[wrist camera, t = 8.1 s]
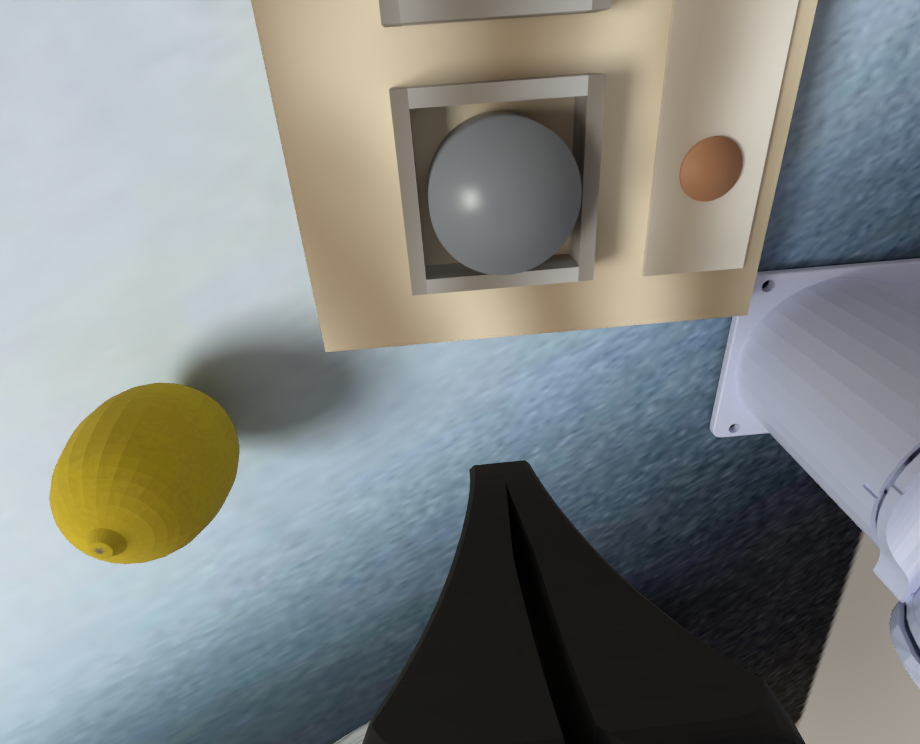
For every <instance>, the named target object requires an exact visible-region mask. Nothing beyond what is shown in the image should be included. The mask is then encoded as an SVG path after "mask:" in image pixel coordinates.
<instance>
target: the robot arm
mask: <svg viewBox="0 0 920 744" xmlns="http://www.w3.org/2000/svg"><path fill="white" fill-rule="evenodd" d="M768 280H769V284H768V285H767V286H766V287H765V288H763V289H762V285H763V283H764V282H766V281H768ZM733 424H735V425H734V426H733V427H731V428H730V426H731V425H733ZM710 430H711V432H712V433H713V434H714V435H715V436H717V437H730V436H741V435H751V434H762V433H770V434H771V435H772V436H773V437H774V438H775V439H776V440H777V441H778V442H779V443H780V444H781V445H782V446H783V448H784V449H785V450H786V451H787V452H788V453H789V454H790V455H791V456H792V457H793V458H794V459H795V460H796V461H797V462H798V463H799V464H800V465H801V466H802V468H803V469H804V470H805V471H806V472H807V473H808V474H809V475H810V476H811V477H812V478H813V479H814V480H815V481H816V482H817V483H818V484H819V485H820V486H821V488H822V489H823V490H824V491H825V492H826V493H827V494H828V495H829V496H830V497H831V498H832V499H833V500H834V501H835V502H836V503H837V504H838V505H839V507H840V508H841V509H842V510H843V511H844V512H845V513H846V514H847V515H848V516H849V517H850V518H851V519H852V520H853V521H854V522H855V523H856V524H857V525H858V527H859V528H860V529H861V530H862V531H863V532H864V533H865V534H866V535H867V536H868V537H869V538H870V539H871V540H872V541H873V542H874V543H875V544H876V545H877V547H878V548H879V549H880V550H881V552H880V557H879V560H878V562H877V564H876V565H875V567H874V569H873V572H874V573H875V574H876V575H877V576H878V577H879V578H880V579H881V580H882V582H883V583H884V584H885V585H886V586H887V587H888V588H889V590H890V591H891V592H892V593H893V594H894V595H895V596H896V597H897V598H898V600H899V602H898V603H897V604H896V606H895V607H894V609H893V610H892V613H891V618H890V623H889V624H890V634H891V638H892V641H893V644H894V648H895V650H896V652H897V654H898V656H899V658H900V660H901V662H902V664H903V666H904V667H905V669H906V670H907V672H908V673H909V675H910V676H911V678H912V679H913V681H914V683H915V684H916V685H917V686H918V688H919V689H920V258H915V259H904V260H892V261H880V262H869V263H857V264H845V265H833V266H822V267H810V268H798V269H787V270H775V271H763V272H757V275H756V280H755V284H754V288H753V293H752V297H751V302H750V306H749V311H748V315H744V316H733V317H732V322H731V327H730V332H729V337H728V341H727V346H726V351H725V356H724V360H723V365H722V370H721V375H720V380H719V384H718V389H717V394H716V399H715V404H714V408H713V413H712V418H711V423H710ZM362 744H805V742H804V740H803V739H802V737H801V735H800V733H799V732H798V730H797V728H796V726H795V725H794V723H793V721H792V719H791V718H790V716H789V715H788V714H787V712H786V711H785V709H784V708H783V706H782V705H781V703H780V702H779V701H778V699H777V698H776V696H775V695H774V694H773V692H772V691H771V690H770V688H769V687H768V685H767V684H766V683H765V681H764V680H762V679H761V678H759V677H758V676H756V675H754V674H753V673H751V672H750V671H748V670H746V669H745V668H743V667H741V666H740V665H738V664H737V663H735V662H733V661H732V660H730V659H729V658H727V657H725V656H724V655H722V654H721V653H719V652H717V651H716V650H714V649H713V648H711V647H710V646H708V645H707V644H706V643H704V642H703V641H701V640H700V639H698V638H697V637H696V636H694V635H693V634H691V633H690V632H689V631H687V630H686V629H684V628H683V627H682V626H681V625H679V624H678V623H677V622H676V621H674V620H673V619H672V618H670V617H669V616H668V615H667V614H665V613H664V612H663V611H662V610H660V609H659V608H658V607H656V606H655V605H654V604H653V603H651V602H650V601H649V600H648V599H646V598H645V597H644V596H643V595H642V594H641V593H640V592H638V591H637V590H636V589H635V588H634V587H633V586H632V585H631V584H629V583H628V582H627V581H626V580H625V579H624V578H623V577H622V576H621V575H620V574H619V573H618V572H617V571H615V570H614V569H613V568H612V567H611V566H610V565H609V564H608V563H607V562H606V561H605V560H604V559H603V558H602V557H601V556H600V555H599V553H598V552H597V551H596V550H595V549H594V548H593V547H592V546H591V545H590V544H589V543H588V542H587V540H586V539H585V538H584V537H583V536H582V535H581V534H580V533H579V531H578V530H577V529H576V528H575V527H574V526H573V524H572V523H571V522H570V521H569V519H568V518H567V517H566V516H565V514H564V513H563V512H562V511H561V509H560V508H559V507H558V506H557V504H556V503H555V502H554V500H553V499H552V498H551V496H550V495H549V493H548V492H547V491H546V489H545V488H544V486H543V485H542V483H541V482H540V480H539V479H538V477H537V476H536V474H535V472H534V471H533V469H532V467H531V466H530V464H529V463H528V462H526V461H525V460H524V461H514V462H504V463H494V464H484V465H474V466H473V467H472V468H471V469H470V492H469V500H468V506H467V511H466V516H465V520H464V524H463V529H462V533H461V537H460V540H459V543H458V547H457V550H456V553H455V556H454V560H453V563H452V566H451V569H450V571H449V574H448V577H447V580H446V582H445V585H444V587H443V590H442V592H441V595H440V597H439V599H438V602H437V604H436V606H435V608H434V611H433V613H432V615H431V617H430V619H429V622H428V624H427V626H426V628H425V630H424V632H423V634H422V636H421V638H420V640H419V642H418V643H417V645H416V647H415V649H414V651H413V652H412V654H411V656H410V658H409V660H408V661H407V663H406V665H405V667H404V669H403V670H402V672H401V674H400V676H399V677H398V679H397V681H396V682H395V684H394V686H393V687H392V689H391V690H390V692H389V693H388V695H387V696H386V698H385V699H384V701H383V703H382V704H381V706H380V707H379V709H378V710H377V712H376V713H375V715H374V716H373V718H372V719H371V721H370V723H369V725H368V728H367V731H366V734H365V737H364V740H363V743H362Z"/></svg>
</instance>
